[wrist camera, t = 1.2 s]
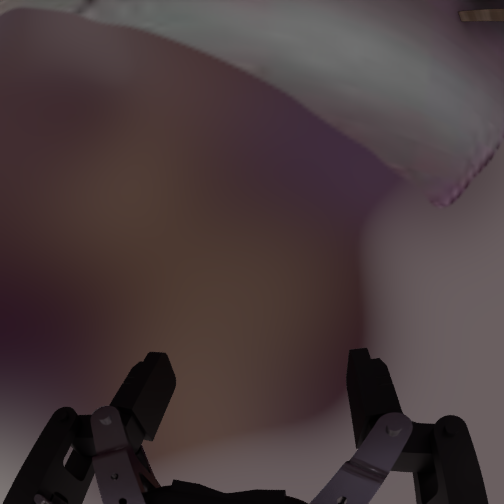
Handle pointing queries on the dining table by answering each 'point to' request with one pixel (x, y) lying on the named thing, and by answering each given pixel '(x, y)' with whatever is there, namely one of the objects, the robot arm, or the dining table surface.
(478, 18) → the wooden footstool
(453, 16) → the dining table surface
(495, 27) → the dining table surface
